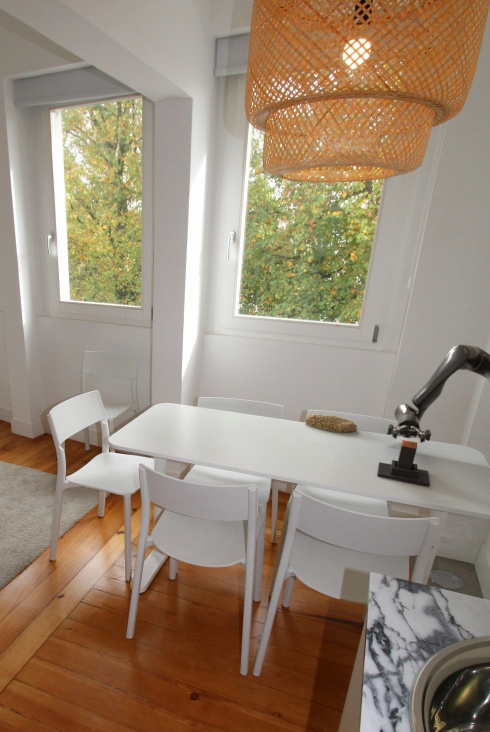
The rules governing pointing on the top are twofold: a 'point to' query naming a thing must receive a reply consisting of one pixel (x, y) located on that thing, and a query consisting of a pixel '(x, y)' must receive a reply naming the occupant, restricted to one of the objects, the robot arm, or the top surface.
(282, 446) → the top surface
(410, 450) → the black and orange block
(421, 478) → the base pad
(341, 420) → the sponge
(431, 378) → the robot arm
